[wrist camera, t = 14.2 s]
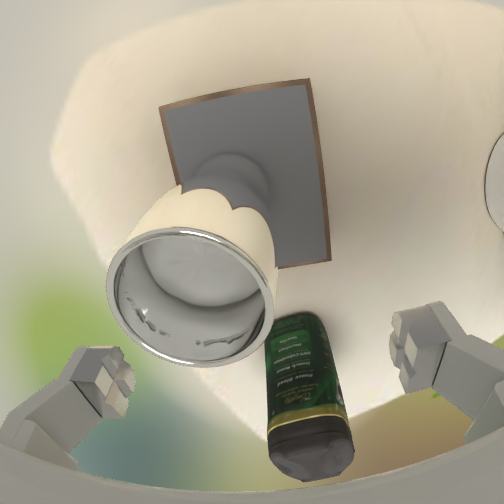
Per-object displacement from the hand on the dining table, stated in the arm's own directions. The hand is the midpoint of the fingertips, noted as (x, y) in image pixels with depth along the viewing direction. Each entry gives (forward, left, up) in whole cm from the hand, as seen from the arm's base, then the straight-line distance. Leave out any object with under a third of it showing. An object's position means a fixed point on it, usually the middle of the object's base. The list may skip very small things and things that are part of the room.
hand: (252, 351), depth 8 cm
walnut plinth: (0, 0, -23) cm, 23 cm away
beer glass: (+2, 0, -18) cm, 18 cm away
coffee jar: (-2, +22, -24) cm, 32 cm away
